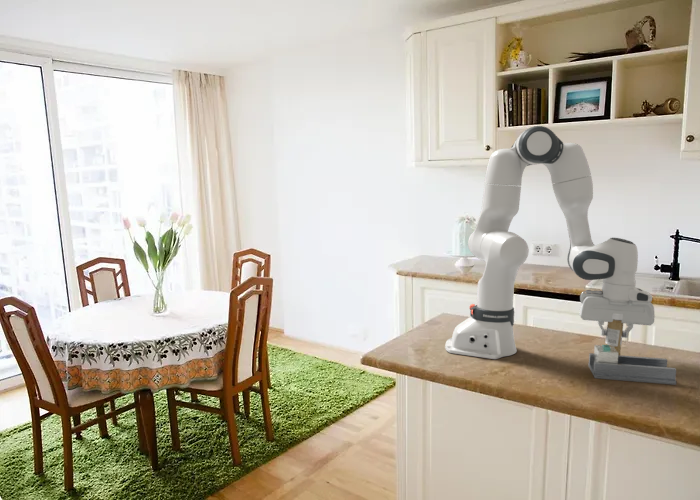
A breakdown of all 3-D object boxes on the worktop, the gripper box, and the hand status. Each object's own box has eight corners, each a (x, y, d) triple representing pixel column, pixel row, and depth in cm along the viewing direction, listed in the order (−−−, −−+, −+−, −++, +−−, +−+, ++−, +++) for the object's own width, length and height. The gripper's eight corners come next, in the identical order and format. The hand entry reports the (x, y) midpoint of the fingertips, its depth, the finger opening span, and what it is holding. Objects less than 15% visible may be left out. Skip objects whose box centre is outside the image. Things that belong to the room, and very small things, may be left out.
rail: (594, 378, 145) (596, 351, 143) (588, 365, 154) (589, 339, 153) (676, 384, 139) (678, 356, 138) (664, 371, 149) (666, 344, 148)
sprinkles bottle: (623, 355, 159) (628, 313, 157) (614, 357, 157) (619, 314, 155) (609, 351, 163) (614, 309, 161) (600, 353, 161) (605, 310, 159)
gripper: (582, 291, 157) (578, 335, 159) (658, 296, 151) (653, 342, 153) (579, 287, 163) (575, 330, 165) (652, 292, 157) (648, 336, 159)
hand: (614, 336), depth 159 cm, fingers closed on sprinkles bottle, 4 cm apart
